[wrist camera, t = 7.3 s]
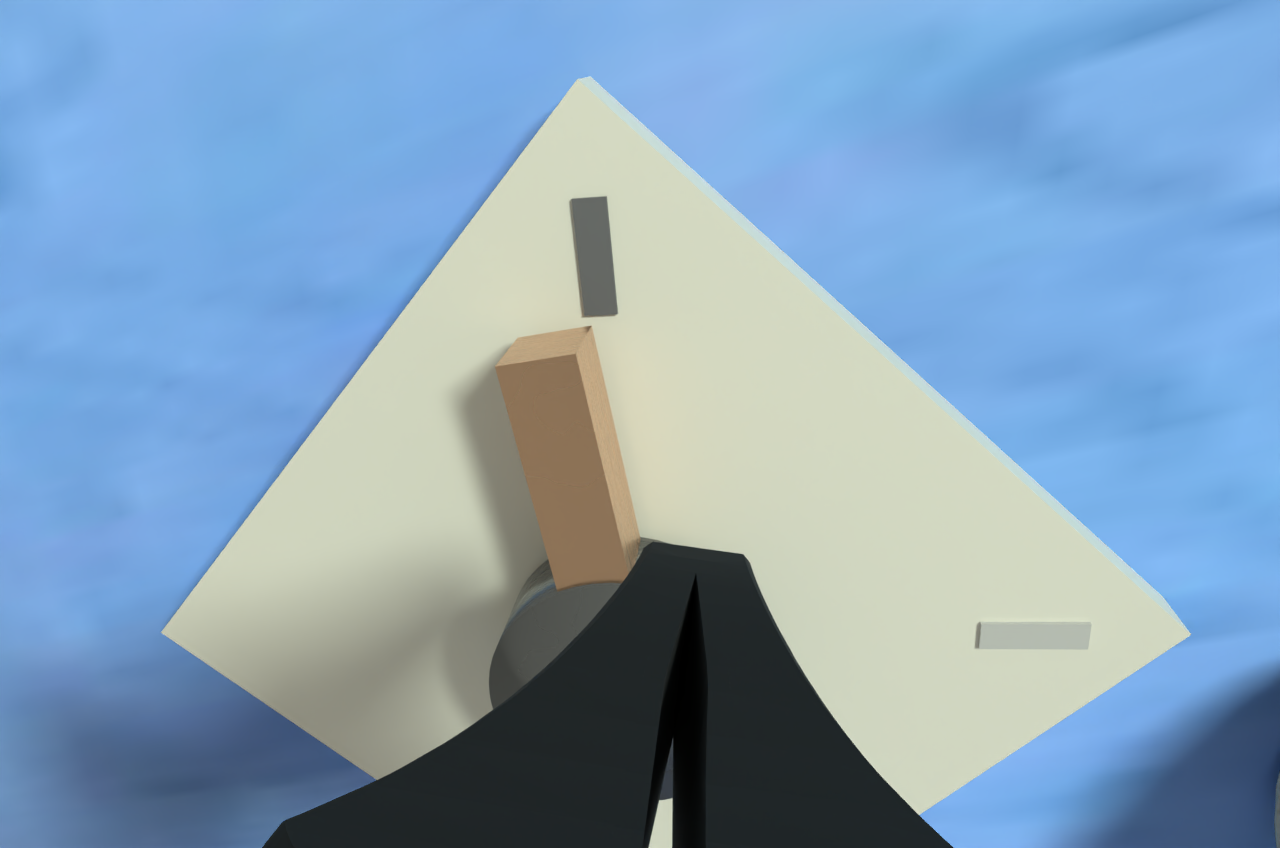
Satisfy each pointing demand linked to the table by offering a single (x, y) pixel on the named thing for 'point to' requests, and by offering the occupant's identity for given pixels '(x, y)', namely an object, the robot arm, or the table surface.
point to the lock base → (666, 489)
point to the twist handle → (565, 503)
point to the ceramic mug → (1277, 813)
